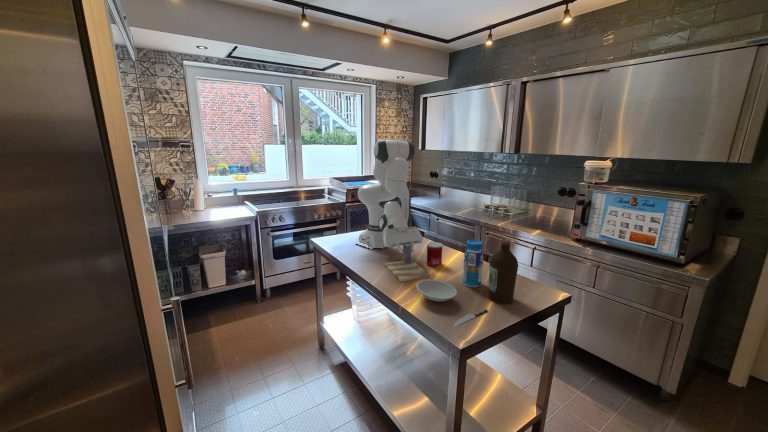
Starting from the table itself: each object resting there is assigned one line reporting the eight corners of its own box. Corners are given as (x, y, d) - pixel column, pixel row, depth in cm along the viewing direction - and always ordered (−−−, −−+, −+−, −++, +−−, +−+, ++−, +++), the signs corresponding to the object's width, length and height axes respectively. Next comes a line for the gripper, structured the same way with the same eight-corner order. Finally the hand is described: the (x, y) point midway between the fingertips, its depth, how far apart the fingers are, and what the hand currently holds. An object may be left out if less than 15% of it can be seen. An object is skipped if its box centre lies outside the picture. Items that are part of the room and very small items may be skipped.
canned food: (444, 263, 159) (445, 244, 157) (435, 268, 154) (436, 247, 151) (432, 260, 164) (432, 241, 162) (423, 264, 159) (424, 244, 156)
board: (384, 266, 157) (384, 263, 156) (410, 261, 162) (410, 259, 162) (400, 281, 139) (400, 278, 138) (429, 276, 144) (429, 273, 144)
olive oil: (507, 292, 128) (513, 236, 123) (519, 304, 118) (525, 244, 112) (483, 292, 128) (487, 236, 122) (492, 305, 118) (497, 245, 112)
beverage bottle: (458, 281, 139) (460, 240, 134) (473, 278, 142) (475, 238, 137) (470, 289, 131) (473, 246, 126) (485, 285, 134) (488, 243, 130)
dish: (464, 302, 121) (464, 290, 120) (441, 314, 112) (441, 302, 111) (431, 286, 134) (431, 276, 133) (408, 296, 125) (408, 285, 124)
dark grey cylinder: (405, 263, 146) (405, 246, 144) (401, 260, 150) (401, 243, 148) (412, 262, 147) (412, 245, 145) (408, 259, 151) (408, 242, 149)
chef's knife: (445, 325, 106) (452, 329, 104) (445, 322, 106) (452, 325, 104) (482, 309, 116) (488, 312, 114) (482, 306, 116) (488, 309, 113)
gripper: (415, 229, 160) (423, 252, 153) (379, 233, 152) (386, 257, 146) (419, 223, 155) (428, 246, 148) (382, 226, 147) (390, 251, 141)
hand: (407, 252), depth 147 cm, fingers closed on dark grey cylinder, 4 cm apart
